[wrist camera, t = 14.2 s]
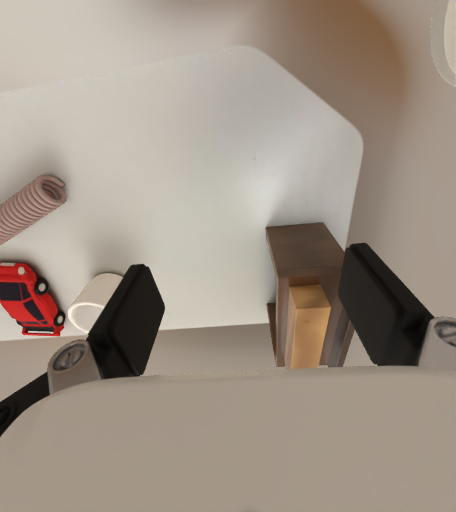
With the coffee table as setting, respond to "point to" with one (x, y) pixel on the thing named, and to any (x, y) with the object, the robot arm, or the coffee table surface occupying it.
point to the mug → (93, 300)
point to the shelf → (308, 273)
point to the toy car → (29, 300)
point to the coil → (30, 205)
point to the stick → (306, 326)
